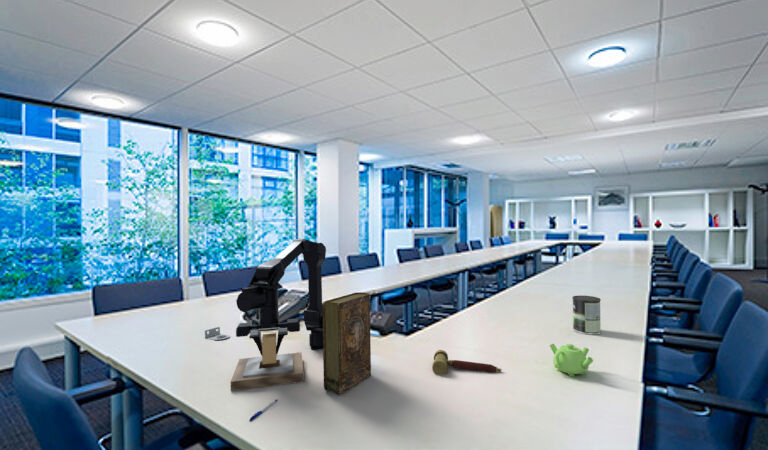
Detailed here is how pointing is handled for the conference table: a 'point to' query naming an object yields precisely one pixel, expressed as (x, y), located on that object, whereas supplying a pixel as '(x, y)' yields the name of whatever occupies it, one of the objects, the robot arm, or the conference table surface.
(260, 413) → the ballpoint pen
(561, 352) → the teapot
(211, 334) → the bracket
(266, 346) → the tan cardboard-colored box
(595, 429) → the conference table surface
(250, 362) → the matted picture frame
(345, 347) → the book
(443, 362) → the gavel
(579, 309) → the coffee can
